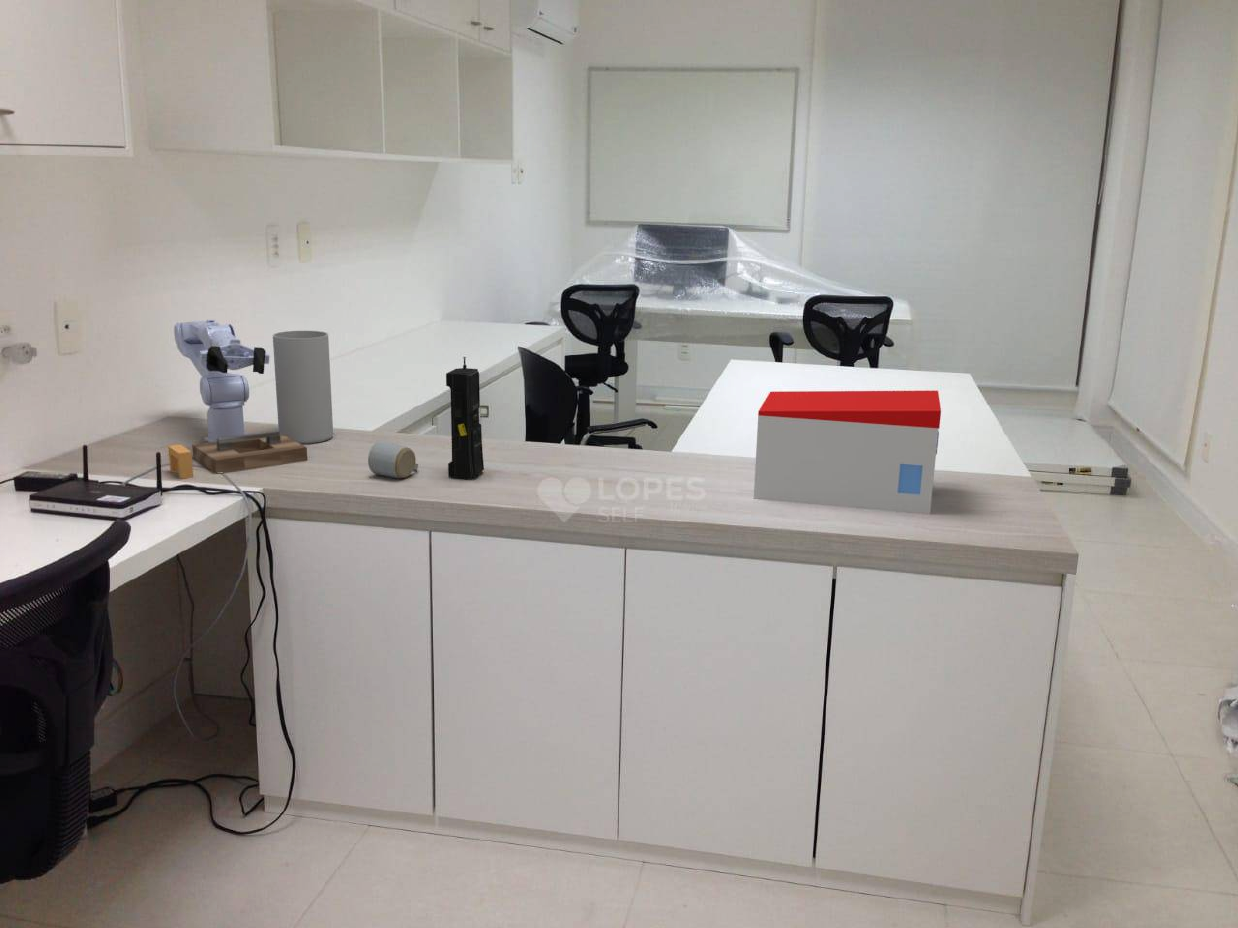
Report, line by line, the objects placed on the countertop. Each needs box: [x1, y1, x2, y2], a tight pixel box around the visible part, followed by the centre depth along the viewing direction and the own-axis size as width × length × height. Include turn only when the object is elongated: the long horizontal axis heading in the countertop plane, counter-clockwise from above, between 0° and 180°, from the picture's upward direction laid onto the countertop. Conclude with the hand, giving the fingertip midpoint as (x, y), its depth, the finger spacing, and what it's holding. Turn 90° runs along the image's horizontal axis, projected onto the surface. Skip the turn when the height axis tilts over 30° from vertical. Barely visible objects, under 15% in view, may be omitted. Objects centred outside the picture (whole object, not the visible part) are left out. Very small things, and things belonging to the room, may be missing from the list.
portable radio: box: [445, 356, 485, 481], centre depth 231 cm, size 8×6×25 cm
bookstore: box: [753, 390, 942, 515], centre depth 226 cm, size 21×35×21 cm, turn 76°
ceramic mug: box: [367, 439, 419, 479], centre depth 234 cm, size 10×8×7 cm
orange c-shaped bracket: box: [167, 444, 194, 480], centre depth 231 cm, size 7×2×6 cm, turn 38°
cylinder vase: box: [272, 330, 334, 445], centre depth 260 cm, size 12×12×25 cm
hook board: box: [191, 430, 309, 475], centre depth 243 cm, size 16×20×6 cm
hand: (244, 369), depth 235 cm, fingers open, 7 cm apart
